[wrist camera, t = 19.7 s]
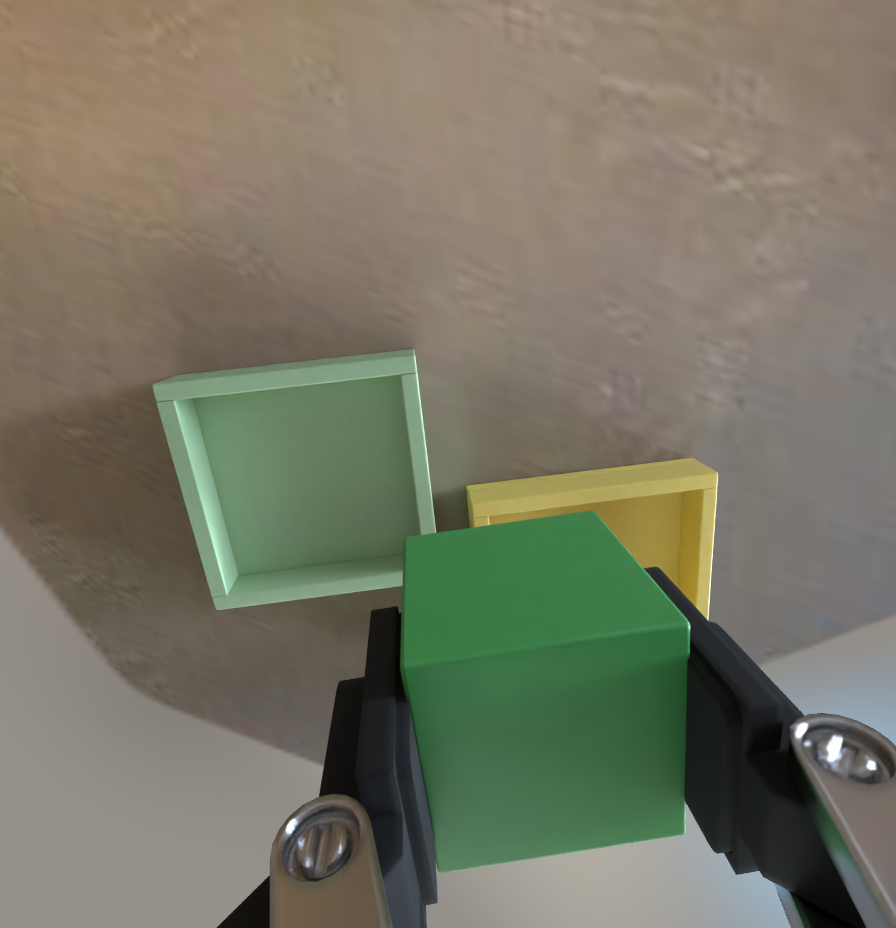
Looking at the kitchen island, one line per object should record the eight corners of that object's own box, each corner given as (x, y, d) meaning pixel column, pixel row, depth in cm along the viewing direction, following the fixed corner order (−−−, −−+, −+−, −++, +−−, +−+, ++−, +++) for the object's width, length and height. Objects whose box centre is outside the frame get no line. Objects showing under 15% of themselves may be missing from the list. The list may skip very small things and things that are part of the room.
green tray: (174, 375, 25) (150, 384, 23) (413, 348, 26) (415, 354, 23) (230, 583, 29) (215, 611, 27) (438, 556, 30) (442, 581, 27)
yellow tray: (465, 485, 28) (471, 503, 26) (692, 457, 29) (719, 472, 26) (483, 674, 32) (490, 706, 30) (682, 646, 33) (704, 675, 31)
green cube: (403, 536, 12) (398, 666, 8) (594, 508, 12) (692, 622, 8) (429, 693, 14) (437, 876, 9) (600, 667, 14) (687, 836, 9)
